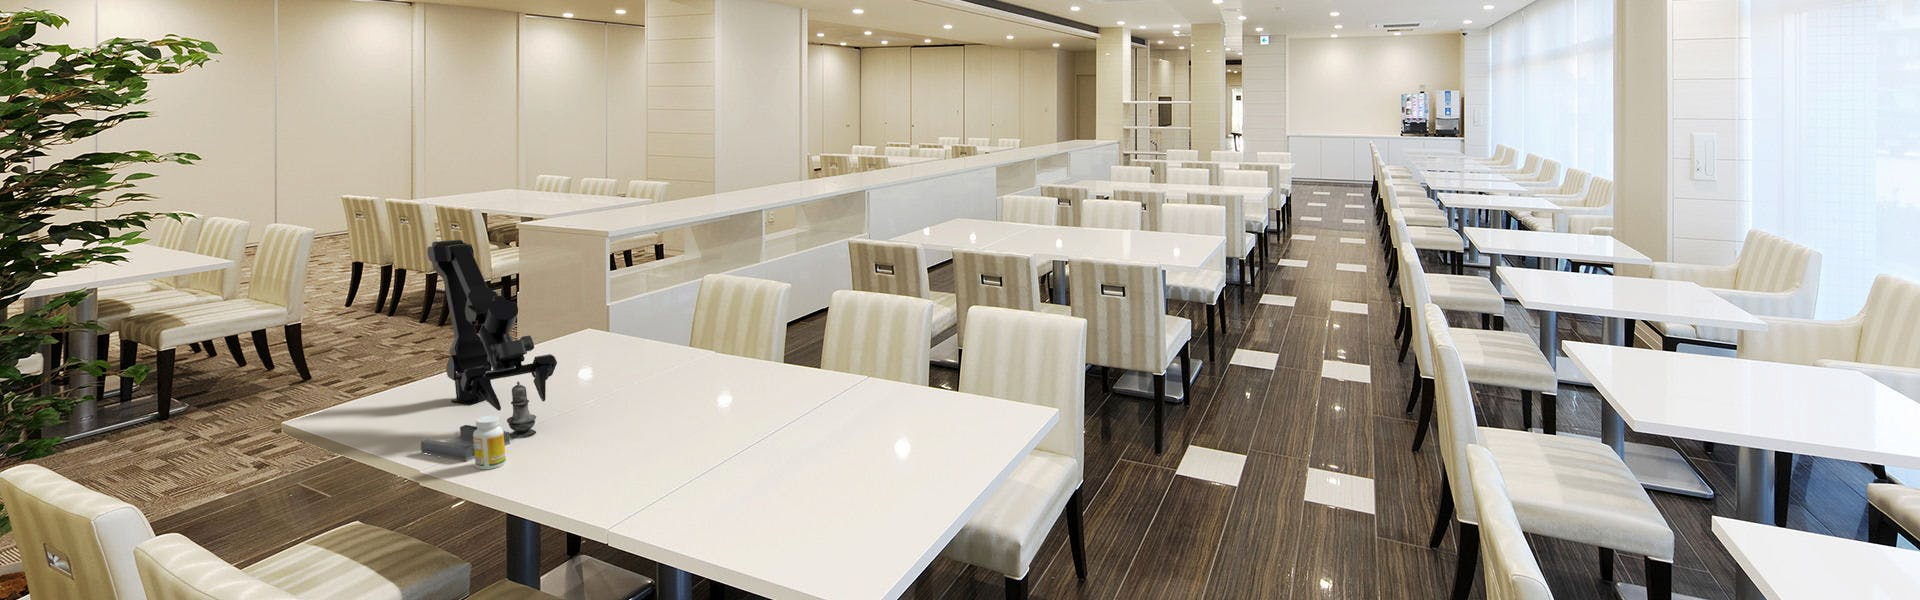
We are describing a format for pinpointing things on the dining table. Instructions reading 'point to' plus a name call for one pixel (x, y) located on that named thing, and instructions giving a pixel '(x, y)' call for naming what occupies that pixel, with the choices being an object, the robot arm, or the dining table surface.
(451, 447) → the floor track
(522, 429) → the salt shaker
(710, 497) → the dining table surface
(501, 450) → the supplement bottle
